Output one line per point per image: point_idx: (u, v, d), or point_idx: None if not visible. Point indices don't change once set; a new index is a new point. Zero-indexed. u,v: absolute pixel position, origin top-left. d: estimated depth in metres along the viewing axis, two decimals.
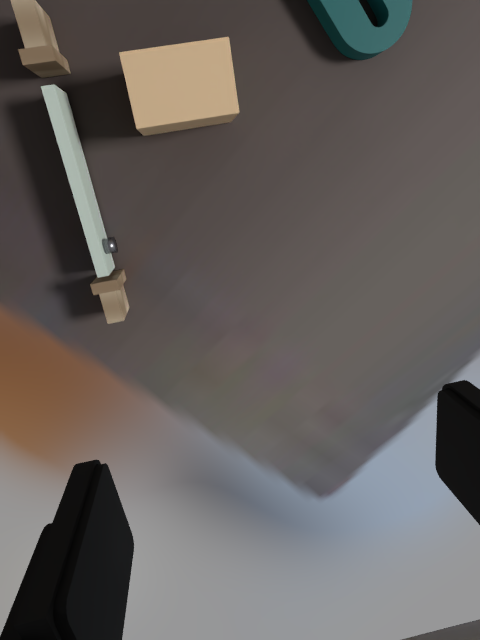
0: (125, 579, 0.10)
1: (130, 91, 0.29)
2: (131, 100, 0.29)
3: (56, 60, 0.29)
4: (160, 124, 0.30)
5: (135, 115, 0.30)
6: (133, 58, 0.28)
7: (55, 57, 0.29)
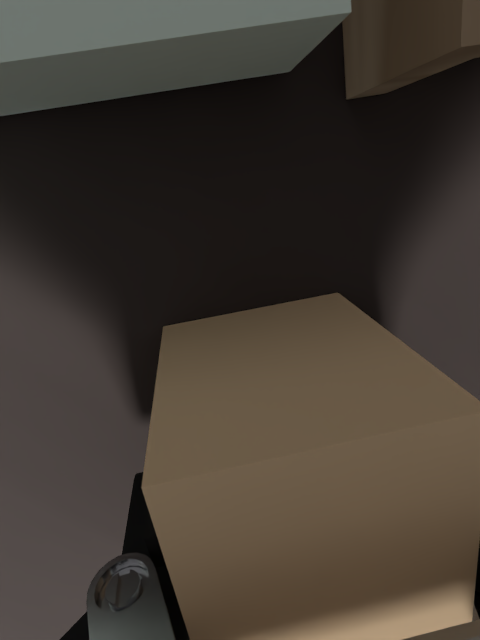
0: None
1: (323, 458, 0.05)
2: (281, 463, 0.05)
3: (452, 51, 0.06)
4: (175, 577, 0.06)
5: (210, 480, 0.05)
6: (456, 467, 0.06)
7: (466, 48, 0.06)
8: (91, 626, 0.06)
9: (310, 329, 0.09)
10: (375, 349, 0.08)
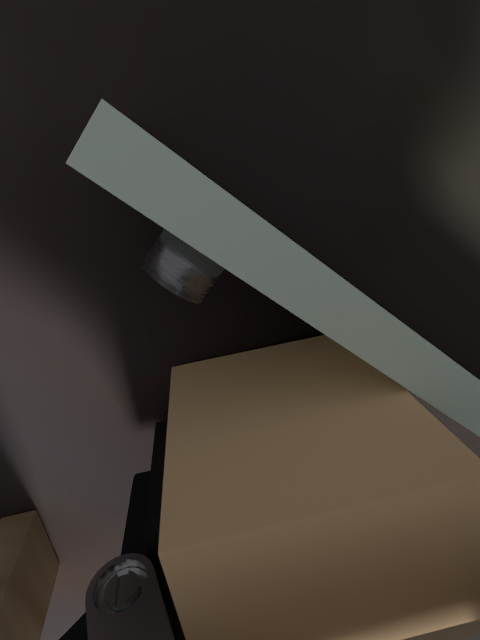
0: None
1: (332, 521, 0.06)
2: (292, 527, 0.06)
3: None
4: (189, 635, 0.06)
5: (223, 545, 0.06)
6: (461, 525, 0.06)
7: None
8: (90, 627, 0.06)
9: (316, 373, 0.09)
10: (379, 398, 0.08)
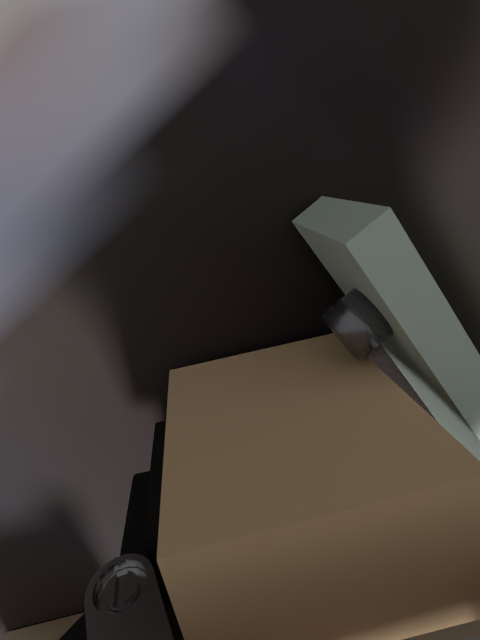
0: None
1: (331, 524, 0.06)
2: (291, 531, 0.06)
3: None
4: None
5: (222, 550, 0.06)
6: (460, 526, 0.06)
7: None
8: (89, 627, 0.06)
9: (313, 375, 0.09)
10: (377, 399, 0.08)
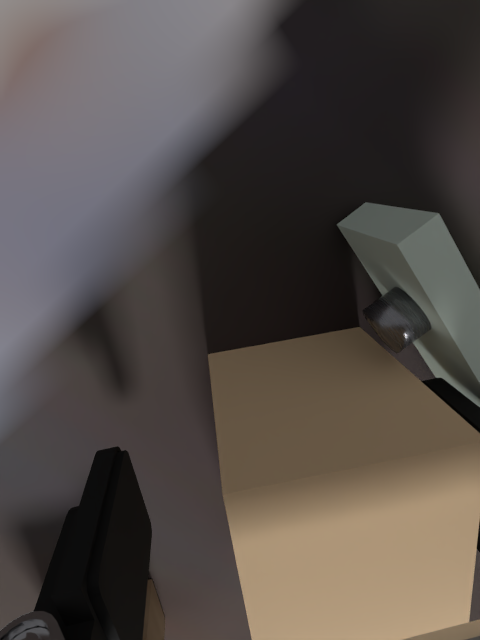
0: (145, 561, 0.10)
1: (358, 474, 0.07)
2: (327, 478, 0.07)
3: None
4: (239, 563, 0.08)
5: (273, 490, 0.07)
6: (460, 483, 0.08)
7: None
8: None
9: (337, 362, 0.11)
10: (394, 383, 0.10)
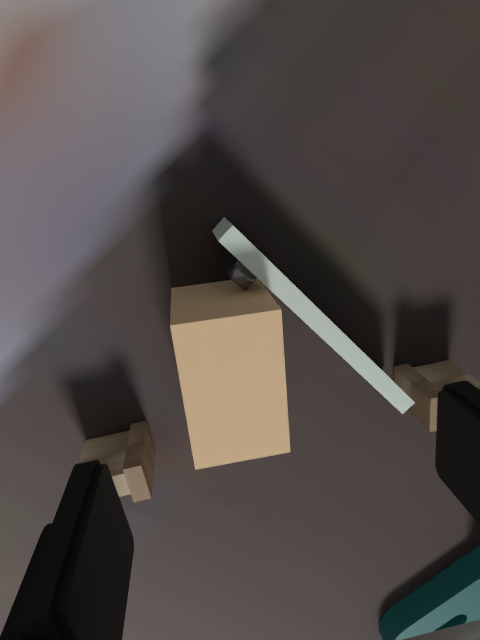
0: (125, 579, 0.10)
1: (226, 321, 0.18)
2: (213, 321, 0.17)
3: (427, 428, 0.24)
4: (177, 362, 0.18)
5: (191, 325, 0.17)
6: (272, 329, 0.18)
7: None
8: None
9: (237, 289, 0.21)
10: (258, 295, 0.20)
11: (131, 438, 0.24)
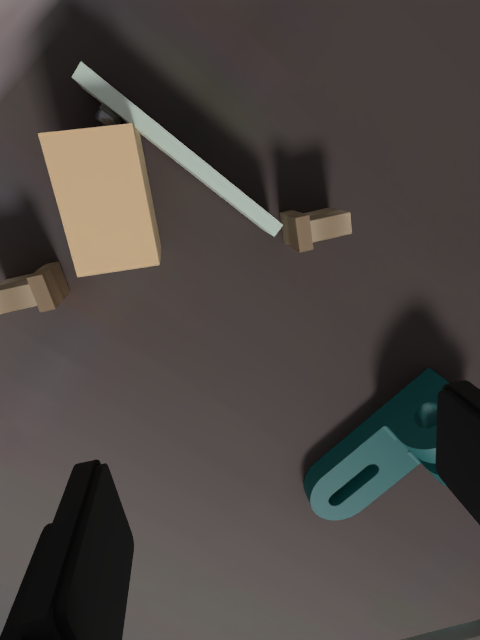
0: (125, 579, 0.10)
1: (86, 131, 0.21)
2: (75, 131, 0.21)
3: None
4: (49, 169, 0.22)
5: (56, 134, 0.21)
6: (126, 142, 0.22)
7: None
8: None
9: None
10: None
11: (41, 268, 0.28)
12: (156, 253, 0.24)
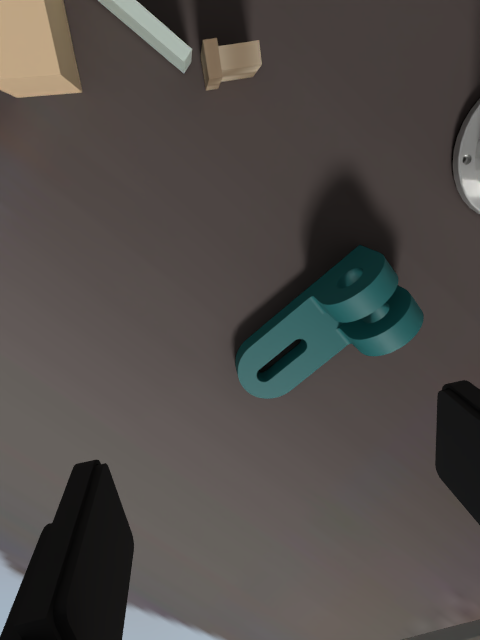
0: (125, 579, 0.10)
1: None
2: None
3: (209, 79, 0.29)
4: None
5: None
6: None
7: (212, 79, 0.29)
8: None
9: None
10: None
11: None
12: (56, 61, 0.25)
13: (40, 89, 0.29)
